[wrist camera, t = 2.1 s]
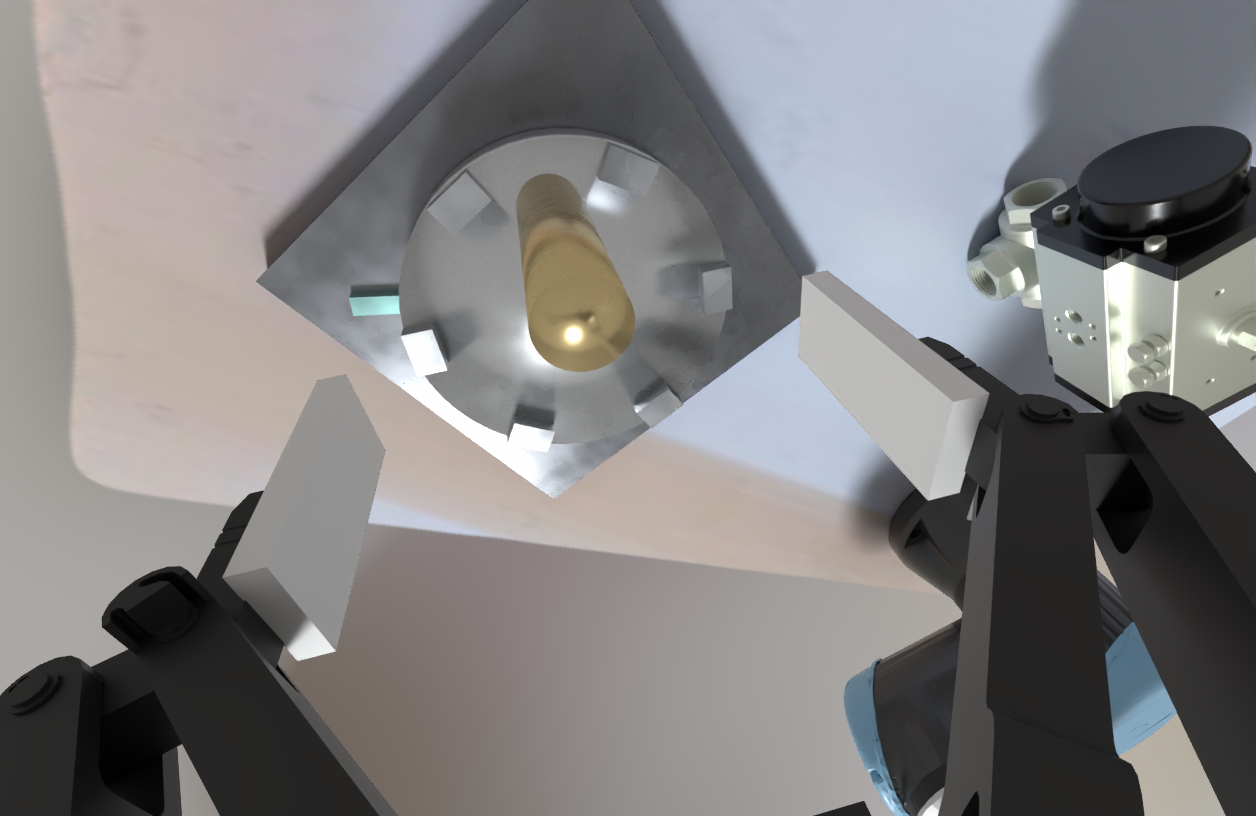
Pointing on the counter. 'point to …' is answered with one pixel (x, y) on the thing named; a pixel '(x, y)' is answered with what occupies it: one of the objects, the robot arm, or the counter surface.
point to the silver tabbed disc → (562, 288)
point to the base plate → (504, 106)
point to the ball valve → (1140, 268)
